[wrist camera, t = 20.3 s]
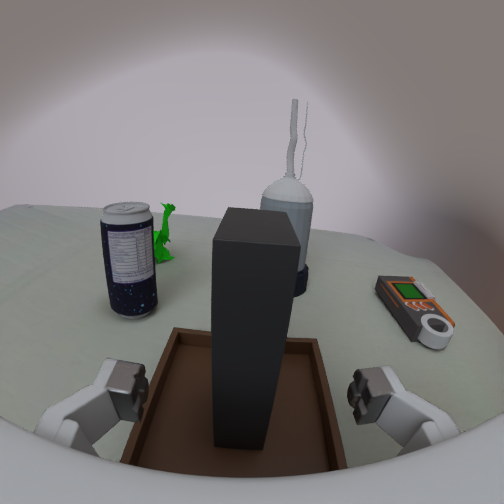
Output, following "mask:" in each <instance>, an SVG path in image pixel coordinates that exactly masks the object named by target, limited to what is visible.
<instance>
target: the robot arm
mask: <svg viewBox="0 0 504 504" xmlns="http://www.w3.org/2000/svg"><path fill="white" fill-rule="evenodd" d="M145 372H146V370H145V366H144V365H143V364H139V363H133V362H127V361H122V360H116V359H111V358H107V359H106V360H105V361H104V363H103V365H102V366H101V368H100V370H99V372H98V374H97V376H96V378H95V380H94V382H93V384H92V386H90V385H88V386H86V387H84V388H83V389H81V390H79V391H78V392H76V393H74V394H72V395H71V396H69V397H67V398H65V399H64V400H62V401H60V402H58V403H57V404H55V405H53V406H51V407H49V408H48V409H46V410H45V411H44V413H43V415H42V417H41V419H40V421H39V423H38V424H37V426H36V428H35V430H34V432H31V431H28V430H26V429H24V428H22V427H20V426H18V425H16V424H14V423H12V422H10V421H8V420H7V419H5V418H3V417H1V416H0V504H504V412H502V413H500V414H498V415H497V416H495V417H493V418H491V419H489V420H487V421H485V422H483V423H481V424H480V425H477V426H475V427H473V428H471V429H469V430H467V431H465V432H463V433H460V431H459V430H458V428H457V426H456V425H455V423H454V421H453V420H452V418H451V416H450V415H449V414H448V413H447V412H445V411H443V410H441V409H440V408H438V407H436V406H434V405H433V404H431V403H429V402H427V401H426V400H424V399H422V398H421V397H419V396H417V395H415V394H414V393H412V392H410V391H406V390H405V388H404V387H403V385H402V383H401V382H400V380H399V378H398V377H397V375H396V373H395V372H394V370H393V368H392V367H391V366H381V367H373V368H365V369H357V370H356V371H355V372H354V375H353V378H354V381H353V382H351V383H350V385H349V387H348V391H347V398H348V402H349V405H350V406H352V407H353V408H354V411H353V415H354V418H355V421H356V423H357V425H362V424H368V423H375V422H376V424H377V425H378V426H379V427H380V428H381V429H382V430H384V431H385V432H386V433H387V434H388V435H389V436H391V437H392V438H393V439H394V440H395V441H396V442H398V443H399V444H400V445H401V446H402V447H404V448H403V449H402V450H401V451H400V452H399V454H398V455H397V457H394V458H391V459H387V460H383V461H379V462H375V463H371V464H367V465H362V466H358V467H353V468H347V469H342V470H336V471H330V472H323V473H315V474H307V475H297V476H284V477H264V478H230V477H210V476H198V475H188V474H179V473H172V472H165V471H159V470H153V469H147V468H142V467H137V466H133V465H128V464H124V463H120V462H116V461H112V460H108V459H104V458H101V457H99V455H98V454H97V452H96V451H95V450H94V448H93V447H92V445H93V444H94V443H95V442H96V441H97V440H99V439H100V438H101V437H102V436H103V435H104V434H106V433H107V432H108V431H109V430H110V429H111V428H112V427H114V426H115V425H116V424H117V423H118V422H119V421H120V420H125V421H131V422H137V423H141V420H142V416H143V413H144V408H143V404H144V403H146V402H147V399H148V393H149V384H148V379H147V378H146V377H145Z"/></svg>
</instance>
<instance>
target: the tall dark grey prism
mask: <svg viewBox="0 0 504 504" xmlns="http://www.w3.org/2000/svg"><path fill="white" fill-rule="evenodd" d="M300 252H301V245H300V242H299V240H298V238H297V235H296V233H295V231H294V228H293V226H292V224H291V222H290V219H289V217H288V215H287V213H286V212H282V211H270V210H258V209H245V208H231V207H228V209H227V211H226V213H225V215H224V217H223V219H222V221H221V223H220V225H219V228H218V230H217V232H216V234H215V236H214V238H213V248H212V293H211V372H212V414H213V440H214V447H220V448H231V449H246V450H263V448H264V444H265V440H266V436H267V431H268V427H269V422H270V418H271V413H272V409H273V404H274V400H275V395H276V390H277V385H278V380H279V375H280V370H281V365H282V360H283V355H284V349H285V344H286V338H287V333H288V327H289V322H290V316H291V310H292V304H293V298H294V292H295V285H296V279H297V272H298V266H299V259H300Z"/></svg>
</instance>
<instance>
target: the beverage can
mask: <svg viewBox="0 0 504 504" xmlns="http://www.w3.org/2000/svg"><path fill="white" fill-rule="evenodd" d="M103 211H104V213H103V216H102V218H101V221H100V225H101V237H102V248H103V257H104V265H105V273H106V280H107V287H108V293H109V299H110V305H111V308H112V309H113V310H114V311H115V312H116V313H118V314H120V315H121V316H122V317H125V318H129V319H137V318H142V317H144V316H146V315H148V314H149V313H150V312H151V311H152V310H153V309H154V308H155V307H156V305H157V303H158V299H157V287H156V272H155V255H154V227H153V216H152V214H151V212H150V210H149V205H148V204H146V203H142V202H123V203H115V204H111V205H108V206H105V207H104V208H103Z"/></svg>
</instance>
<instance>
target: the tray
mask: <svg viewBox="0 0 504 504" xmlns="http://www.w3.org/2000/svg"><path fill="white" fill-rule="evenodd" d="M143 408H144V413H143V416H142V420H141V423H137V422H135V423H134V425H133V428H132V431H131V433H130V436H129V439H128V441H127V444H126V447H125V449H124V452H123V455H122V458H121V460H120V463H124V464H128V465H133V466H137V467H142V468H147V469H153V470H159V471H165V472H172V473H179V474H188V475H198V476H210V477H230V478H264V477H284V476H297V475H307V474H315V473H323V472H330V471H336V470H342V469H347V464H346V459H345V454H344V449H343V445H342V440H341V436H340V431H339V427H338V422H337V418H336V414H335V409H334V405H333V401H332V397H331V393H330V388H329V384H328V380H327V376H326V372H325V368H324V364H323V361H322V357H321V353H320V349H319V345H318V341H317V339H312V338H286V344H285V349H284V355H283V360H282V365H281V370H280V375H279V380H278V385H277V390H276V395H275V400H274V404H273V409H272V413H271V418H270V422H269V427H268V431H267V436H266V440H265V444H264V448H263V450H246V449H231V448H220V447H214V440H213V414H212V372H211V332H209V331H200V330H192V329H183V328H176V327H174V328H173V330H172V333H171V335H170V337H169V340H168V342H167V344H166V347H165V349H164V351H163V354H162V356H161V358H160V361H159V363H158V366H157V368H156V370H155V373H154V375H153V378H152V380H151V383H150V385H149V393H148V399H147V402H146V403H144V404H143Z"/></svg>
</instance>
